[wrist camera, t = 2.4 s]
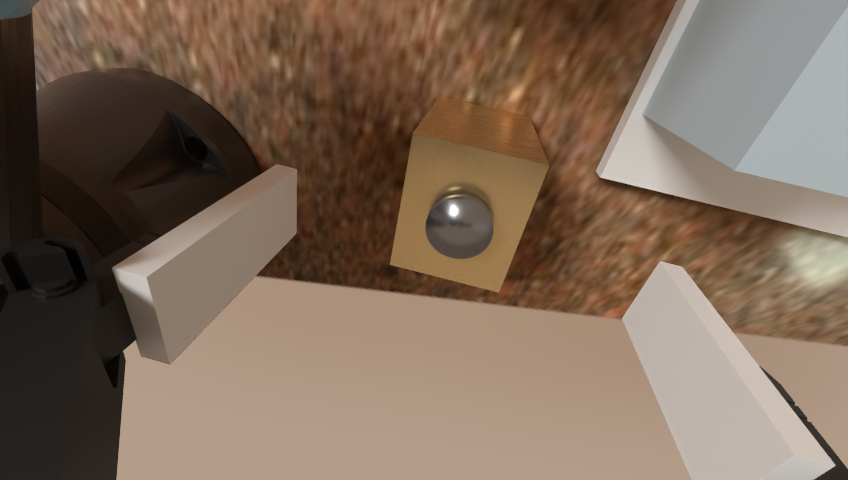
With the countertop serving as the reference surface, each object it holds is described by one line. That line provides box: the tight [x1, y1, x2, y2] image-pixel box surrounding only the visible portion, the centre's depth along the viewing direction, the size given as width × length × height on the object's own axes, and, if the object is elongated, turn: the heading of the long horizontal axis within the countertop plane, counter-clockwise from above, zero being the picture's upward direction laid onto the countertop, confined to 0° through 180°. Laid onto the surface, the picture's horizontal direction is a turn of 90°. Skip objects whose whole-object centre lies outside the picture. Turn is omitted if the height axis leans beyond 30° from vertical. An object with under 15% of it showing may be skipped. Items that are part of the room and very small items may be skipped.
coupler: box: [390, 96, 549, 293], centre depth 18 cm, size 5×6×9 cm
